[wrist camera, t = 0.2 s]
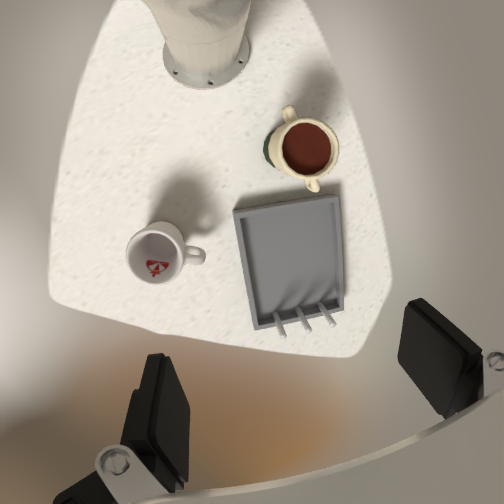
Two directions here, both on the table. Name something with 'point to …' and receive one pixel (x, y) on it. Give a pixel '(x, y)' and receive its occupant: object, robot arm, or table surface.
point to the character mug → (302, 148)
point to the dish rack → (292, 261)
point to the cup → (160, 253)
